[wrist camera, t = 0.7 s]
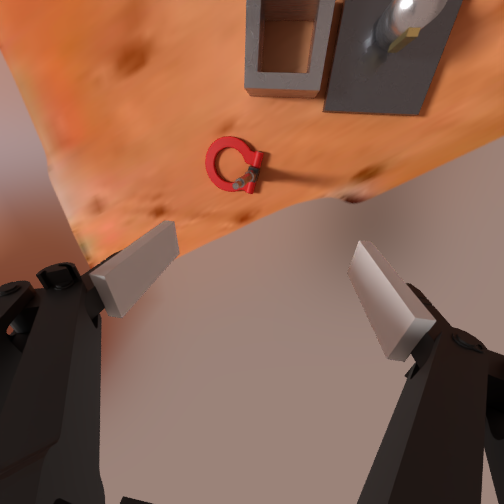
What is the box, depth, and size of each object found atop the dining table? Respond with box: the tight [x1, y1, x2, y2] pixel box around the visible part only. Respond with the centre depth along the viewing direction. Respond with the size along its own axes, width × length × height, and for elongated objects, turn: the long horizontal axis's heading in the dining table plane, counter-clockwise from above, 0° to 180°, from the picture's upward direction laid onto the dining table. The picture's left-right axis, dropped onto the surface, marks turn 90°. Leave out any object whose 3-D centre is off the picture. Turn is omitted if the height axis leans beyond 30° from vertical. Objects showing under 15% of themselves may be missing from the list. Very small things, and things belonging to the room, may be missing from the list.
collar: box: [244, 0, 335, 98], centre depth 24 cm, size 9×9×5 cm
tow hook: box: [205, 136, 264, 194], centre depth 28 cm, size 8×13×9 cm
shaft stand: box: [323, 0, 463, 116], centre depth 21 cm, size 16×12×7 cm
